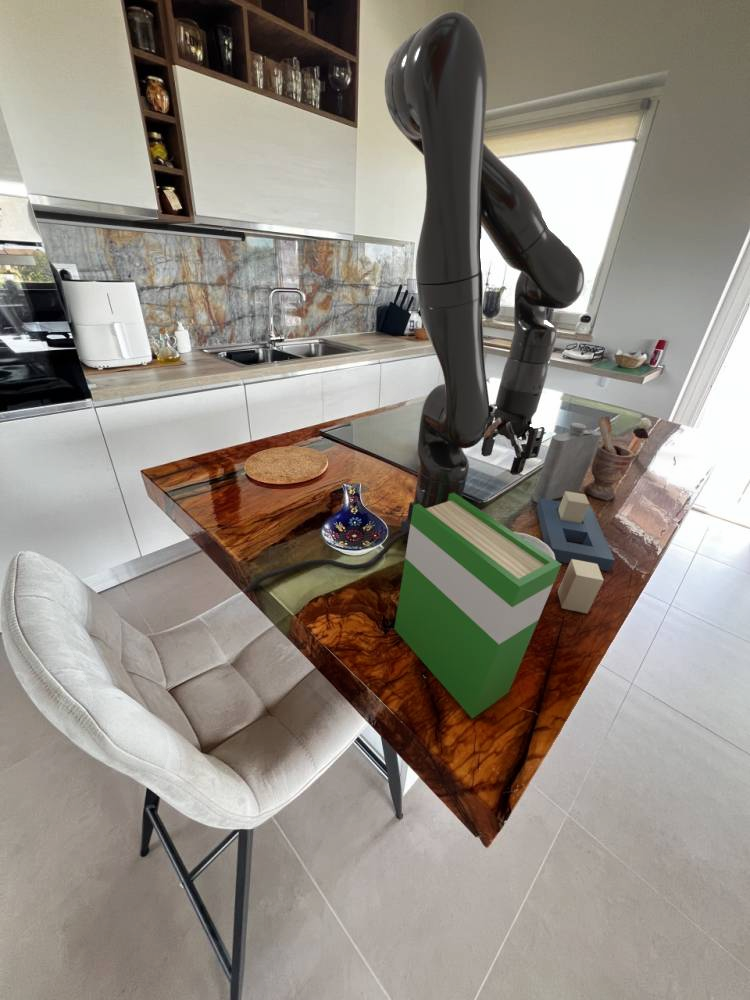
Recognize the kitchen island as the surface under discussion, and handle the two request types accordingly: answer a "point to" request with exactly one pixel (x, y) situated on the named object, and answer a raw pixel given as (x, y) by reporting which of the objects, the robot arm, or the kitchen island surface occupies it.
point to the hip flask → (566, 462)
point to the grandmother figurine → (639, 435)
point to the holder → (574, 536)
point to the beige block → (580, 586)
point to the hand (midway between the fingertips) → (500, 464)
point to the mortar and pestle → (608, 464)
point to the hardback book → (470, 599)
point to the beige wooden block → (573, 507)
